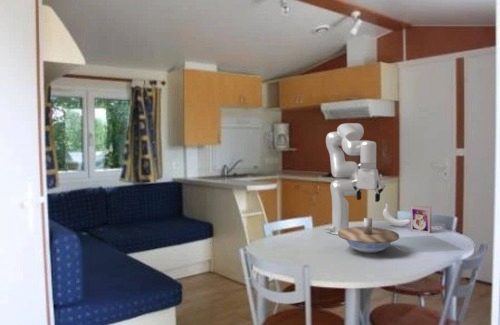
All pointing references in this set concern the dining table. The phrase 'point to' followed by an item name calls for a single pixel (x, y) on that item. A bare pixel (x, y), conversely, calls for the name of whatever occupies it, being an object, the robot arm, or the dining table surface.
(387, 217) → the banana
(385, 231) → the lid
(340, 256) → the dining table surface
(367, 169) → the robot arm
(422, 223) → the greeting card
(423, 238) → the mat
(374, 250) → the ramen bowl
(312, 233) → the dining table surface
